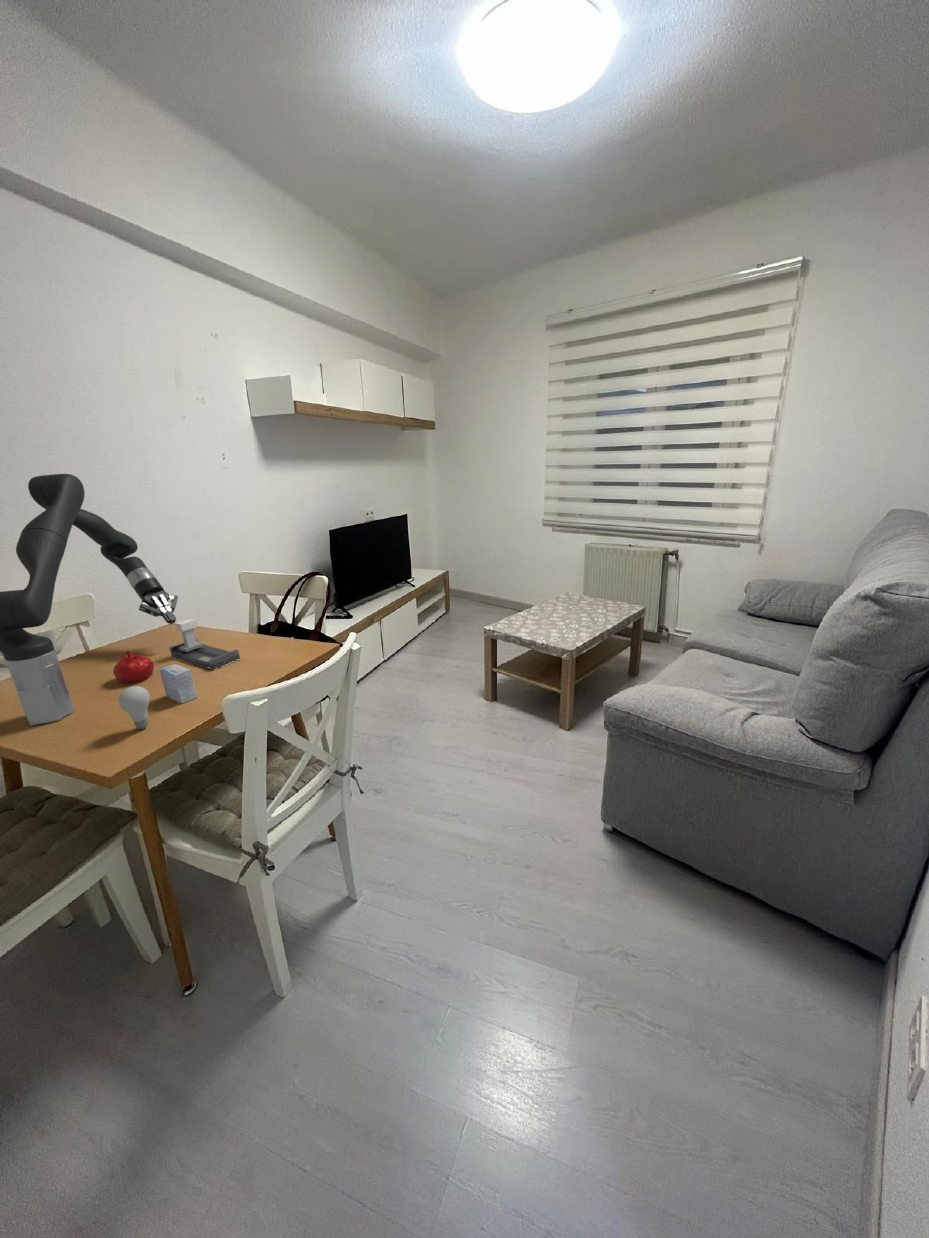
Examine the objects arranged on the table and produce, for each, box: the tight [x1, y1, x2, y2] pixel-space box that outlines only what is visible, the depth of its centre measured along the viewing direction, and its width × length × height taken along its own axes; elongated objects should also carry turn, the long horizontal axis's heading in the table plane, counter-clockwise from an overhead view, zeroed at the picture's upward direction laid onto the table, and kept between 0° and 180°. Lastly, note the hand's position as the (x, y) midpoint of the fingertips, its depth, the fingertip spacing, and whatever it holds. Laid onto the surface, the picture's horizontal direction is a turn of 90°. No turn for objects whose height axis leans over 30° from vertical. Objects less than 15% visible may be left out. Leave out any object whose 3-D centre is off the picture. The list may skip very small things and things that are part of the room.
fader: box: [175, 618, 205, 652], centre depth 155 cm, size 4×6×9 cm, turn 150°
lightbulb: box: [118, 685, 151, 730], centre depth 111 cm, size 6×6×11 cm
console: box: [168, 638, 241, 670], centre depth 154 cm, size 24×9×4 cm, turn 60°
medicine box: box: [159, 663, 198, 704], centre depth 126 cm, size 8×4×9 cm, turn 58°
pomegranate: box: [112, 650, 155, 684], centre depth 139 cm, size 10×10×9 cm
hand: (173, 622), depth 158 cm, fingers closed
